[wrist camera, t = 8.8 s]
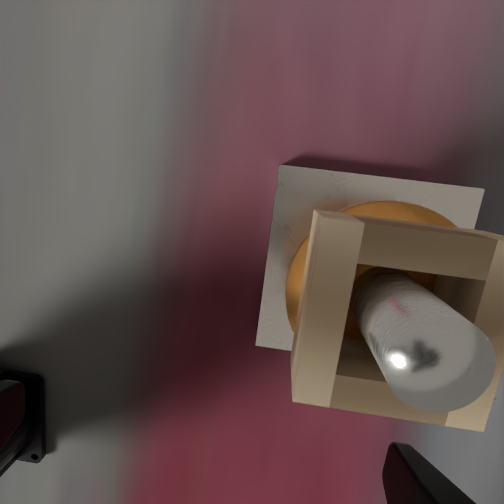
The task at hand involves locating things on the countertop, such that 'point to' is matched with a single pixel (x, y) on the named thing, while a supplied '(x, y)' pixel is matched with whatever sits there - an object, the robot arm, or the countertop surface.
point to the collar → (399, 257)
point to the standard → (381, 285)
